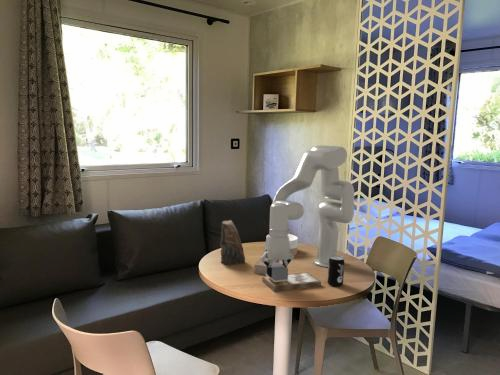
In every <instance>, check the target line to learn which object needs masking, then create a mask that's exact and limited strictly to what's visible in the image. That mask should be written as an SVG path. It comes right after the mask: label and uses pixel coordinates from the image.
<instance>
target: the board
mask: <svg viewBox="0 0 500 375" xmlns="http://www.w3.org/2000/svg"><path fill="white" fill-rule="evenodd" d="M261 280H262V281H261V282H262V283H263V284H264V285H265V286H267V287H268V288H269V289H270V290H271V291H272V292H273V293H275V292H282V291H291V290H299V289H300V290H301V289H308V288H317V287H321V286H322V281H321V280H320V279H318V278H317V277H315V276H313V275H312V274H310V273H309V272H306V271H305V272H297V273H288V281H280V282H274V281H272V280H271V279H270V278H269V277H268V276H262V278H261Z"/></svg>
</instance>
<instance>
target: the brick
mask: <svg viewBox="0 0 500 375" xmlns="http://www.w3.org/2000/svg"><path fill="white" fill-rule="evenodd" d="M267 260H268V258H265V261H267ZM277 262H279V263H280V260H279V261H273V263H277ZM253 267H254V269H253V273H254V274H257V275H262V276H266V265H265V264H264V263H263V262H262V261H261V260H260V259H258V260H257V261H256V262H255V263H254V266H253Z"/></svg>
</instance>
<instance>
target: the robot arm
mask: <svg viewBox="0 0 500 375" xmlns="http://www.w3.org/2000/svg"><path fill="white" fill-rule="evenodd" d="M347 158H348V151H347V149H346V148H345V147H344V146H339V145H337V146H336V145H315V146H312V148H311V150H307V151H305V152H304V153H303V155H302V157H301V160H300V161H299V164H298V167H297V168H296V171H295V173H294V176H293V177H292V178H291V179H290V180H288V181H287V182H286V183H284V184H283V185H282V186H280V188H279V189H277V192H276V193H275V196H274V198H273V200H272V203H271V205H270V208H269V226H268V227H269V230H268V232H269V233H268V235H269V236H267V235H266V237H267V239H265V244H264V251H263V252H264V253H263V254H262V255H261V257H260V258H259V260H261V261H262V262H263V263H264V264H265V265H266V266H267V275H268V276H269V277H271V276H272V268H271V265H272V263H273V261H279V262H280V261H281V262H282V263H281V264H282V265H283V266H285V267H286V268H288V266H289V264H290V263H291V262H292V260H293V259H294V258H295V255H293V254H292V253H291V252H290V243H289V237H288V236H287V235H288V234H290V233H291V230H290V229H288V228H289V227H288V226H289V221H298V220H300V219H301V218H302V217H303V216H304V214H305V208H304V206H303V205H302V204H301V203H300V202H298V201H297V202H296V201H291V200H287V199H288V198H289V197H290V196H291V195H293V194H295V193H296V192H300V191H303V190H305V189H309V188H310V187H311V186H312V184H313V182H314V179H315V178H316V175H317V172H318V171H320V193H321V197H323V198H325V199H328V200H324V201H322V202H319V205H318V207H317V215H318V236H317V237H318V239H317V255H316V258H314V259H313V264H315V265H316V266H319V267H325V268H328V265H329V259H330V256H341V257H343V258H344V260H345V259H346V257H345V255H340V254H338V241H339V227H338V224H337V223H342V224H349V223H351V222H352V221H353V218H354V213H355V188H354V185H353V184H352V183H351V182H350V181H347V180H340V173H339V167H340V166H342V165H344V164H345V163H346V162H347ZM332 200H335V201H332ZM339 201H340V202H339ZM265 258H268V260H267V261H265Z"/></svg>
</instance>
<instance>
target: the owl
mask: <svg viewBox="0 0 500 375" xmlns="http://www.w3.org/2000/svg"><path fill="white" fill-rule="evenodd" d="M220 229H221V230H220V231H221V234H220V235H219V238H220V240H219V241H220V245H219V246H220V256H221V257H220V259H221V261H220V263H221V264H222V265H224V266H225V265H228V266H232V265H239V264H240V263H241V264H245V263H246V256H245V252H244V247H243V244H242V241H241V238H240V234H239V231H238V229H237V226H235V223H234V222H233V221H232V220H231V219H229V220H223V221H221V226H220Z"/></svg>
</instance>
